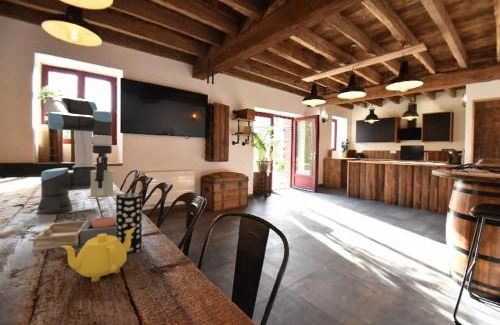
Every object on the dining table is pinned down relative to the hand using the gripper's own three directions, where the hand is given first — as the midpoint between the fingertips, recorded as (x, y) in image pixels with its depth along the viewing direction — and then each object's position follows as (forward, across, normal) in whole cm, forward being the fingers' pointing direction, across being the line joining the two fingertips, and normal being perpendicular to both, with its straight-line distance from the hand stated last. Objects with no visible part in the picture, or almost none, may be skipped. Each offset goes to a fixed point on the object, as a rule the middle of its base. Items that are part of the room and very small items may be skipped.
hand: (102, 192), depth 111 cm
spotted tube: (+14, +35, +13) cm, 40 cm away
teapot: (+14, +50, +7) cm, 52 cm away
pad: (+11, +17, +3) cm, 20 cm away
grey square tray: (+15, +17, +3) cm, 22 cm away
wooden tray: (+15, +16, -11) cm, 24 cm away
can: (+1, 0, 0) cm, 1 cm away
